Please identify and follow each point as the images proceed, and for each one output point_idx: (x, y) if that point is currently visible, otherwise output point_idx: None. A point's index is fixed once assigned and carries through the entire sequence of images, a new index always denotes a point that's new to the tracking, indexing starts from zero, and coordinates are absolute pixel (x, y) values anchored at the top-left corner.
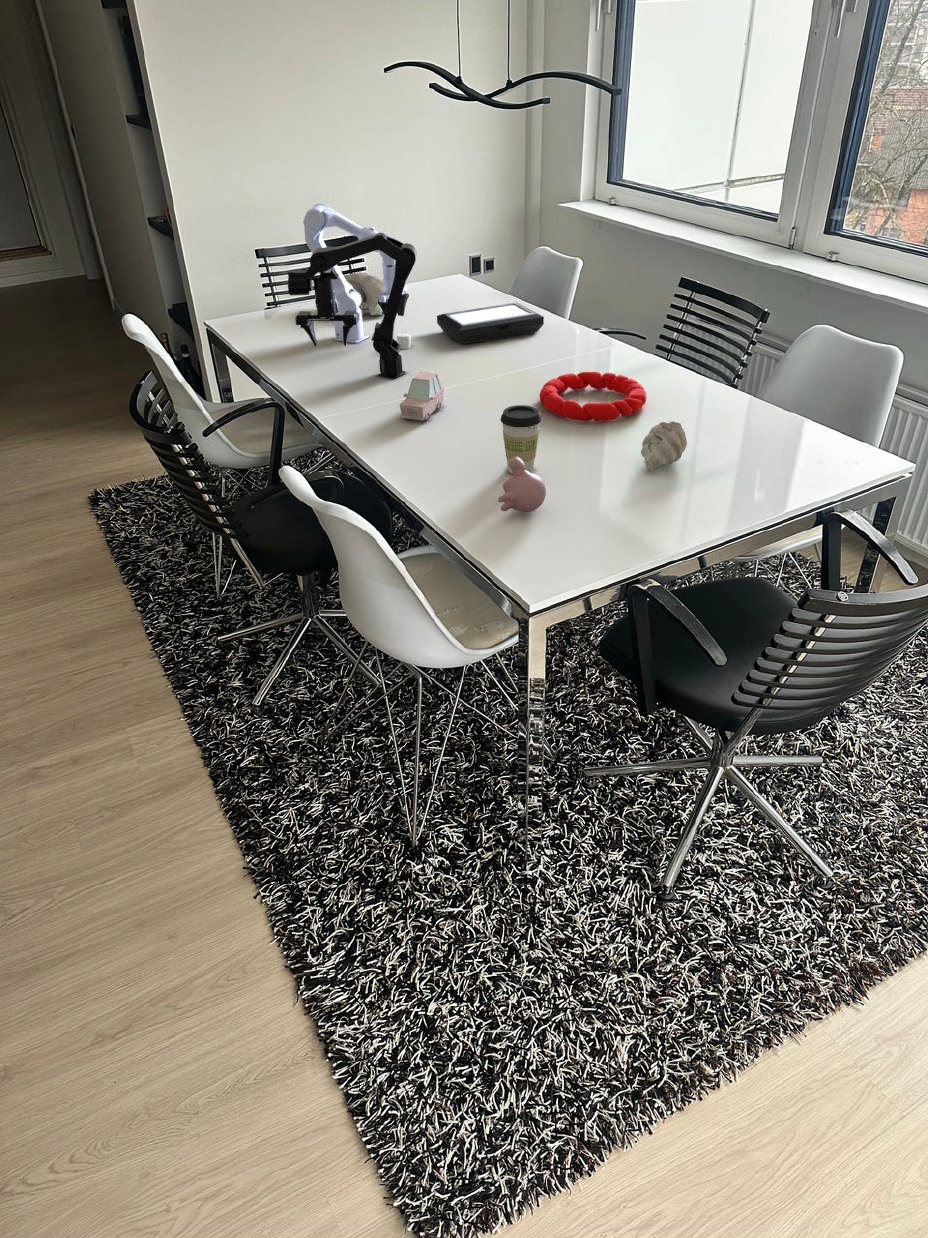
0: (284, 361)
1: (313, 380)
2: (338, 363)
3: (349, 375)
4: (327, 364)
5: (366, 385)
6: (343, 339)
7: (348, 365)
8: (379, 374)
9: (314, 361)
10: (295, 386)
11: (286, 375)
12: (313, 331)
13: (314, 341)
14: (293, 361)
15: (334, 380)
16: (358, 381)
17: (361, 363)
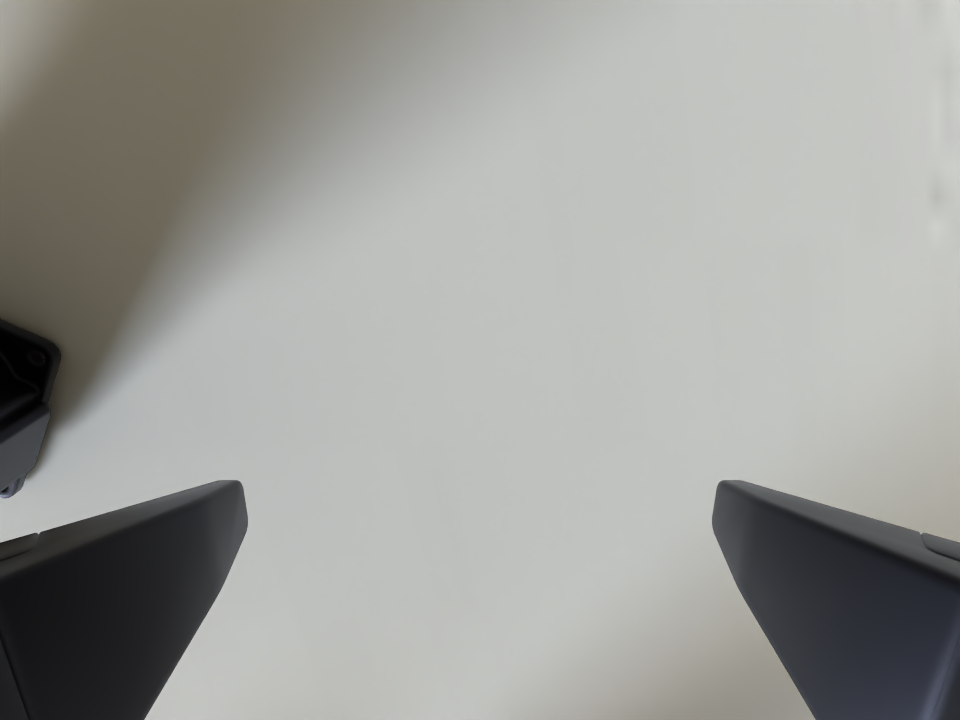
0: None
1: (664, 233)
2: (507, 631)
3: (341, 369)
4: (594, 611)
5: (76, 83)
6: (156, 514)
7: (414, 592)
8: (44, 360)
9: (709, 668)
10: (839, 44)
11: (936, 367)
12: (881, 718)
13: (776, 499)
14: None
15: (452, 234)
16: (203, 206)
17: (320, 630)
